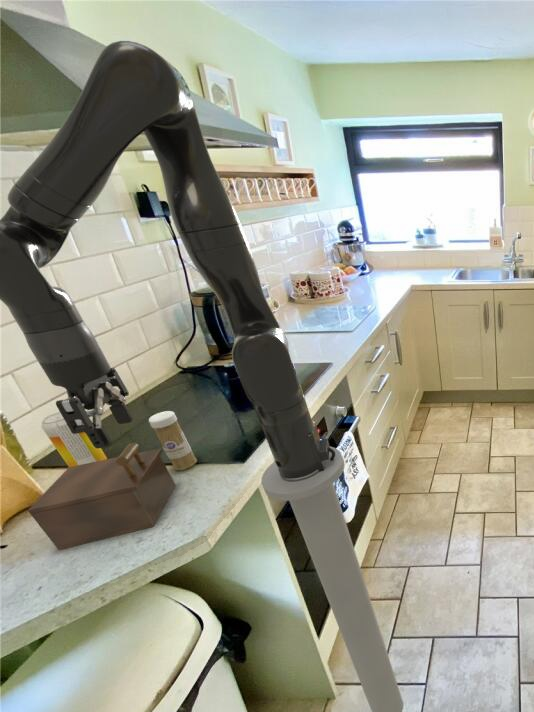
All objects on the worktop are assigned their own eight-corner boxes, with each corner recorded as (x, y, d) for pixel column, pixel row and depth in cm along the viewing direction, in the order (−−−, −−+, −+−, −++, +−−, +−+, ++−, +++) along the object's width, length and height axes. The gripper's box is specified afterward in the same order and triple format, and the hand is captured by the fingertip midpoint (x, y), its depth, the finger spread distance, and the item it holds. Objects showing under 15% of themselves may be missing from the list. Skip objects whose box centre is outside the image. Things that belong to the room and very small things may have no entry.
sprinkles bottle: (174, 474, 94) (146, 423, 87) (174, 464, 97) (148, 414, 91) (198, 465, 96) (173, 416, 90) (197, 456, 99) (174, 407, 93)
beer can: (106, 460, 100) (73, 406, 93) (114, 468, 96) (80, 413, 90) (73, 474, 95) (35, 418, 88) (80, 483, 92) (41, 426, 85)
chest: (176, 485, 90) (158, 452, 86) (153, 526, 79) (131, 491, 75) (94, 504, 86) (71, 470, 82) (58, 550, 75) (30, 514, 71)
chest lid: (162, 451, 86) (151, 430, 84) (137, 489, 76) (123, 467, 73) (71, 470, 82) (56, 448, 79) (30, 514, 71) (11, 490, 69)
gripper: (73, 364, 64) (123, 450, 71) (116, 334, 76) (155, 411, 83) (10, 373, 62) (68, 461, 69) (65, 341, 74) (109, 419, 81)
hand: (115, 433), depth 76 cm, fingers open, 8 cm apart
